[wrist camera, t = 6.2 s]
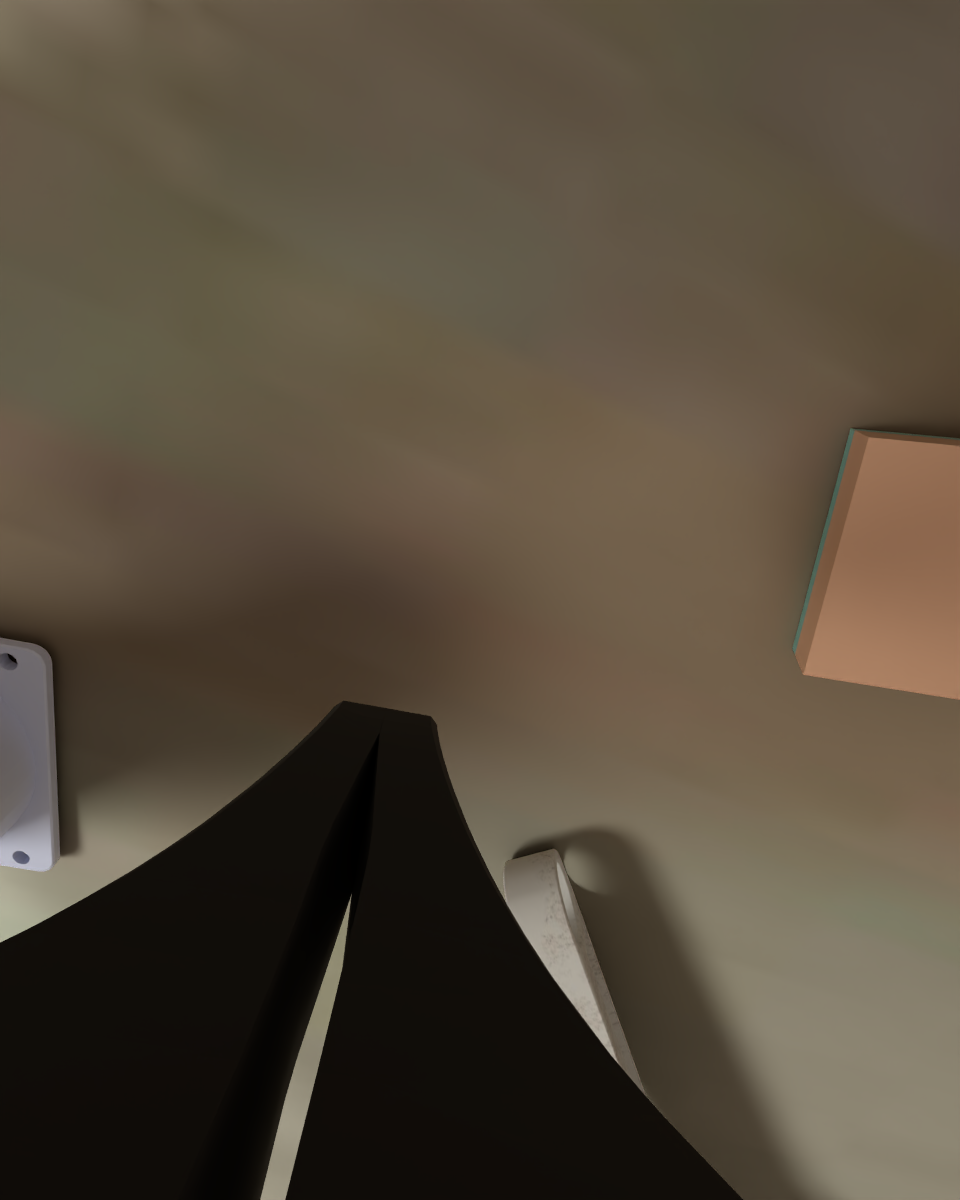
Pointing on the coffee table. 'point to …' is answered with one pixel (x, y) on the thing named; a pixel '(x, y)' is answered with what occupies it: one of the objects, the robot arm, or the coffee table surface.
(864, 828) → the coffee table surface
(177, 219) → the coffee table surface
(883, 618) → the tile
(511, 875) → the wrench
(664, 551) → the coffee table surface
